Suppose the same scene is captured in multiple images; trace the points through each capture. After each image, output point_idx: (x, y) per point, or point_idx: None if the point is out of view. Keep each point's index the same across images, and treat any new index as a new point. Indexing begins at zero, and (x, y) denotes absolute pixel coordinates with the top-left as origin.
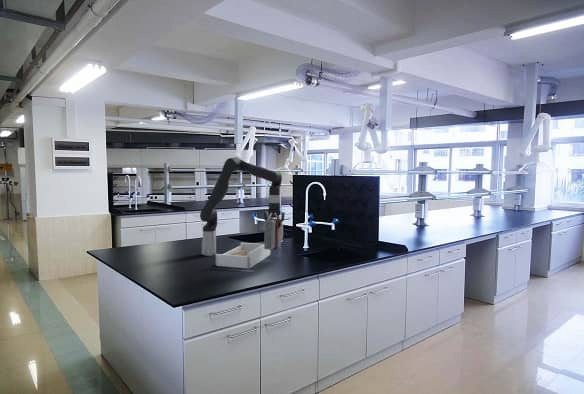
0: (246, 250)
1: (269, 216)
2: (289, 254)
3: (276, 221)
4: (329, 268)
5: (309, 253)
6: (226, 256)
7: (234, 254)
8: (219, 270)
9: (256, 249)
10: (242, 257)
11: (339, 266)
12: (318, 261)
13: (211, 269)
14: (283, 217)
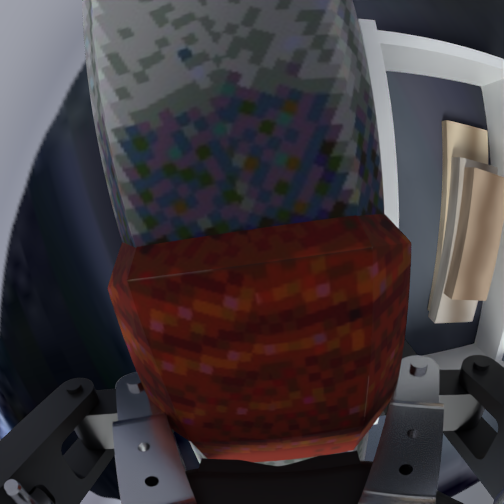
0: (467, 356)
1: (429, 441)
2: None
3: (119, 254)
4: (16, 243)
5: (187, 451)
6: (476, 53)
7: (491, 183)
8: (445, 29)
9: (381, 156)
10: (394, 34)
11: (6, 286)
12: (88, 342)
13: (476, 42)
14: (22, 437)
